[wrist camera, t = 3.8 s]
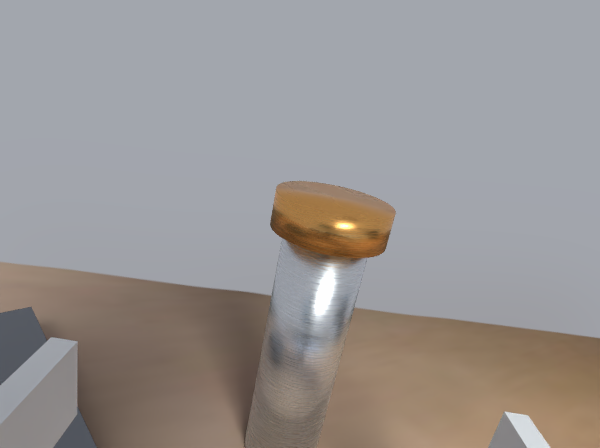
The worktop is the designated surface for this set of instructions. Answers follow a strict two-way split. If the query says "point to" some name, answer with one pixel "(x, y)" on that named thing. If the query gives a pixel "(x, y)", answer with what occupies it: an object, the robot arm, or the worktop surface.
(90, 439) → the plate
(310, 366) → the steel pin
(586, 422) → the worktop surface
